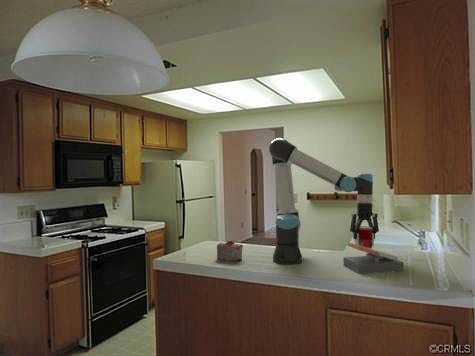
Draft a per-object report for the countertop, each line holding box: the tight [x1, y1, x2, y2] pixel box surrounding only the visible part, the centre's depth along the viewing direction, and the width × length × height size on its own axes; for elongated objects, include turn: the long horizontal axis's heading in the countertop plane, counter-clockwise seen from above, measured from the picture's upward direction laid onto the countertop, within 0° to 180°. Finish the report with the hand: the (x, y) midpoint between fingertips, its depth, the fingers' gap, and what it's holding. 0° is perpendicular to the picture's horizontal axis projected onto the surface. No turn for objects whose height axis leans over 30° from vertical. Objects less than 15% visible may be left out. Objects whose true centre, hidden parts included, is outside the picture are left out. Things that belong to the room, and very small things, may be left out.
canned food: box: [358, 225, 373, 249], centre depth 173 cm, size 8×8×11 cm
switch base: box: [343, 253, 404, 274], centre depth 154 cm, size 22×14×6 cm, turn 99°
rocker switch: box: [347, 242, 399, 260], centre depth 154 cm, size 20×10×2 cm, turn 99°
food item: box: [216, 240, 244, 262], centre depth 172 cm, size 14×8×10 cm, turn 69°
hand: (364, 245), depth 173 cm, fingers closed on canned food, 8 cm apart
